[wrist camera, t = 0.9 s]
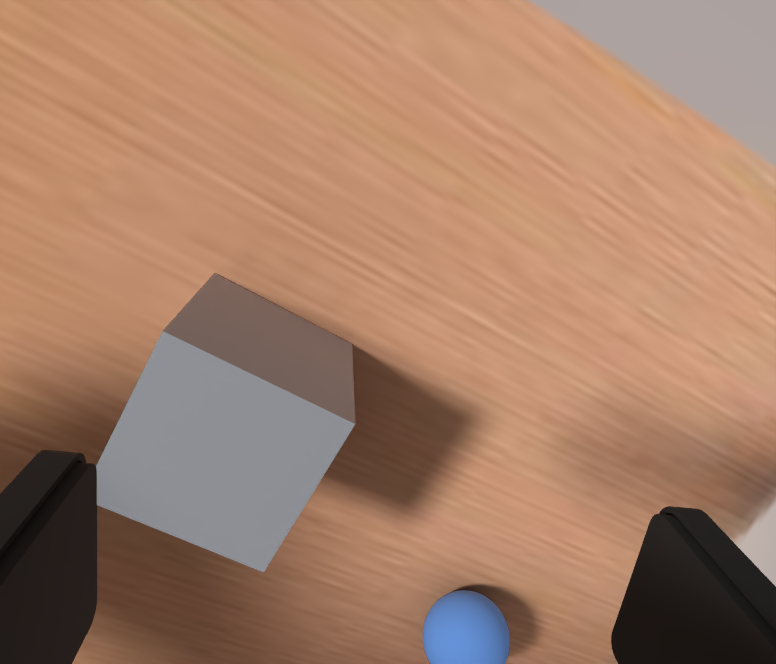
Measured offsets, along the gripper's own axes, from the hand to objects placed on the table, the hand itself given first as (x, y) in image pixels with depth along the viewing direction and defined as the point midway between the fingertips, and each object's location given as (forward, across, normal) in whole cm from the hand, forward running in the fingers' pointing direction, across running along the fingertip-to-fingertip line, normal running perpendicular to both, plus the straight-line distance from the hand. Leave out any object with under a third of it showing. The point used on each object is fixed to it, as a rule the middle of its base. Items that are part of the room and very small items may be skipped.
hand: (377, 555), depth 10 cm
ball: (+18, -9, +20) cm, 29 cm away
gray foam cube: (+21, +4, +6) cm, 22 cm away
